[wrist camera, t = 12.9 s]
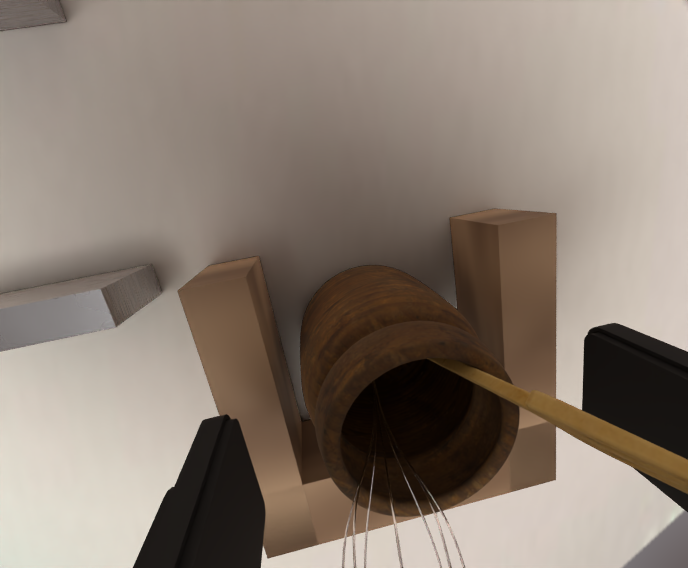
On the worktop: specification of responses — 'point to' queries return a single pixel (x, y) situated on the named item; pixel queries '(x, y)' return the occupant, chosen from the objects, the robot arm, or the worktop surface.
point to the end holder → (300, 437)
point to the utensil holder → (425, 401)
